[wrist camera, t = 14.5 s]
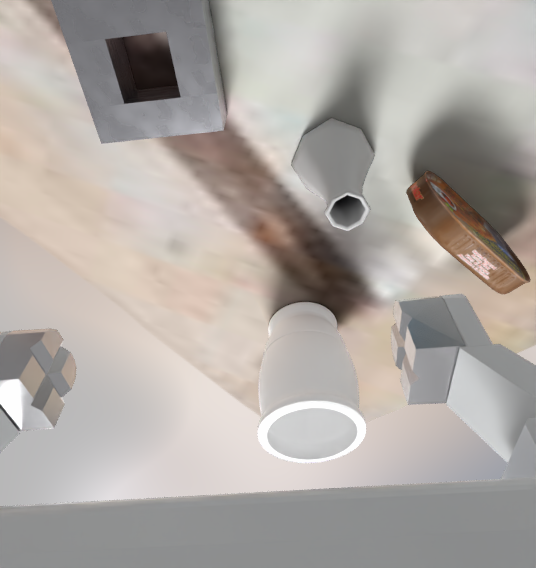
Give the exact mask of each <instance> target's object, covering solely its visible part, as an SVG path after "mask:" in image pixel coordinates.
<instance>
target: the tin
mask: <svg viewBox="0 0 536 568" xmlns="http://www.w3.org/2000/svg"><path fill="white" fill-rule="evenodd" d="M406 193H407V195H408V198H409V200H410V203H411V205H412V208H413V211H414V213H415V215H416V217H417V218H418V220H419V221H420V222H421V224H422V225H423V226H424V228H425V229H426V230H427V231H428V233H429V234H430V235H431V236H432V237H433V238H434V239H435V240H436V241H437V242H438V243H439V244H440V245H441V246H442V247H443V248H444V249H445V250H446V251H448V252H449V253H450V254H451V255H452V256H453V257H454V258H456V259H457V260H458V261H459V262H460V263H461V264H463V265H464V266H465V267H466V268H467V269H469V270H470V271H471V272H472V273H473V274H475V275H476V276H477V277H478V278H480V279H481V280H482V281H483V282H484V283H486V284H487V285H488V286H489V287H491V288H492V289H493V290H495V291H496V292H498V293H500V294H507V293H509V292H511V291H513V290H514V289H516V288H518V287H519V286H521V285H523V284H525V283H528V282H530V277H529V275H528V273H527V271H526V269H525V268H524V266H523V265H522V263H521V262H520V260H519V259H518V258H517V256H516V255H515V254H514V252H513V251H512V250H511V248H510V247H509V246H508V244H507V243H506V242H505V241H504V239H503V238H502V237H501V236H500V235H499V234H498V233H497V232H496V230H495V229H494V228H493V227H491V226H490V224H489V223H488V222H487V221H485V220H484V219H483V218H482V217H481V216H480V215H479V214H478V213H477V212H476V211H475V210H474V209H473V208H472V207H471V206H470V205H468V204H467V203H466V202H465V201H464V200H463V199H462V198H461V197H460V196H459V195H458V194H457V193H456V192H455V191H454V190H453V189H452V188H450V187H449V186H448V185H447V184H446V183H445V182H444V181H443V180H442V179H441V178H439V177H438V176H437V175H435V174H434V173H432V172H430V171H426V172H425V173H424V175H423V176H421V177H420V178H419V179H418V180H417V181H416V182H415V183H413V184H412V185H411V186H410V187H409V188H408V189H407V191H406Z"/></svg>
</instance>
